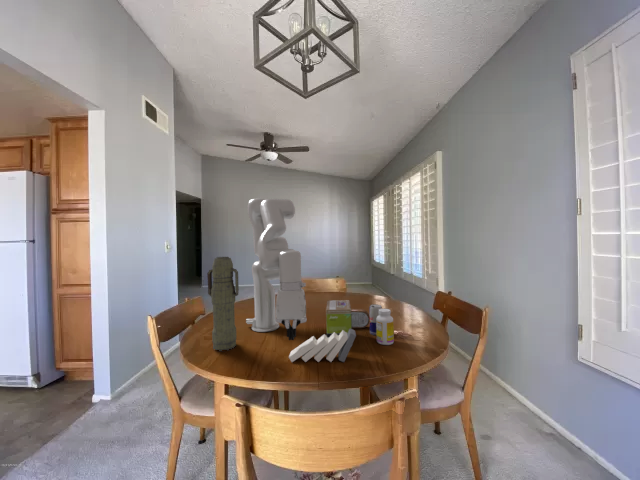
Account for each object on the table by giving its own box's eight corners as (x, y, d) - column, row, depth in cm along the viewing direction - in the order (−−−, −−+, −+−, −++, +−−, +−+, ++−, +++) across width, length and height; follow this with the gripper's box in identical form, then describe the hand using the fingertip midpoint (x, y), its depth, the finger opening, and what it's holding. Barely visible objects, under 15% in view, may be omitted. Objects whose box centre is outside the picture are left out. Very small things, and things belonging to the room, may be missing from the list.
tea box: (327, 333, 123) (327, 299, 123) (350, 333, 123) (350, 299, 123) (326, 347, 108) (325, 308, 108) (352, 347, 108) (352, 308, 108)
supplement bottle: (394, 340, 114) (394, 308, 114) (393, 346, 108) (392, 312, 107) (377, 338, 116) (377, 307, 116) (375, 344, 110) (375, 311, 110)
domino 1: (288, 357, 96) (312, 340, 95) (290, 351, 101) (313, 335, 100) (292, 362, 96) (316, 345, 95) (294, 356, 101) (316, 340, 100)
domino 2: (301, 357, 96) (324, 339, 95) (303, 351, 101) (324, 333, 100) (305, 362, 96) (327, 343, 95) (306, 355, 101) (328, 338, 100)
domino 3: (314, 358, 96) (334, 337, 95) (315, 352, 101) (334, 331, 100) (318, 362, 96) (338, 341, 95) (319, 355, 100) (338, 335, 100)
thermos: (213, 342, 115) (211, 256, 114) (242, 341, 115) (240, 256, 114) (204, 351, 106) (202, 258, 105) (236, 350, 106) (234, 257, 105)
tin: (369, 326, 131) (369, 308, 131) (370, 328, 128) (370, 310, 128) (337, 326, 133) (337, 308, 133) (337, 328, 130) (336, 310, 129)
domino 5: (338, 359, 95) (350, 333, 95) (338, 353, 100) (349, 328, 100) (344, 362, 95) (356, 335, 95) (343, 355, 100) (354, 330, 100)
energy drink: (368, 331, 124) (367, 304, 124) (380, 331, 125) (379, 304, 125) (371, 335, 119) (371, 307, 119) (384, 335, 120) (383, 307, 119)
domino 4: (326, 358, 95) (343, 334, 95) (326, 352, 100) (342, 329, 100) (331, 362, 95) (348, 338, 95) (331, 355, 100) (347, 333, 100)
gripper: (312, 284, 101) (313, 334, 102) (271, 284, 102) (272, 335, 102) (311, 288, 94) (312, 343, 94) (266, 288, 94) (267, 343, 95)
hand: (291, 338), depth 98 cm, fingers closed
